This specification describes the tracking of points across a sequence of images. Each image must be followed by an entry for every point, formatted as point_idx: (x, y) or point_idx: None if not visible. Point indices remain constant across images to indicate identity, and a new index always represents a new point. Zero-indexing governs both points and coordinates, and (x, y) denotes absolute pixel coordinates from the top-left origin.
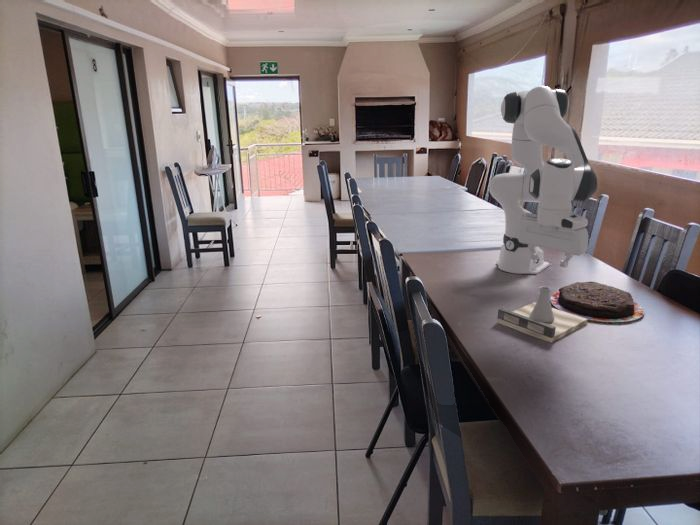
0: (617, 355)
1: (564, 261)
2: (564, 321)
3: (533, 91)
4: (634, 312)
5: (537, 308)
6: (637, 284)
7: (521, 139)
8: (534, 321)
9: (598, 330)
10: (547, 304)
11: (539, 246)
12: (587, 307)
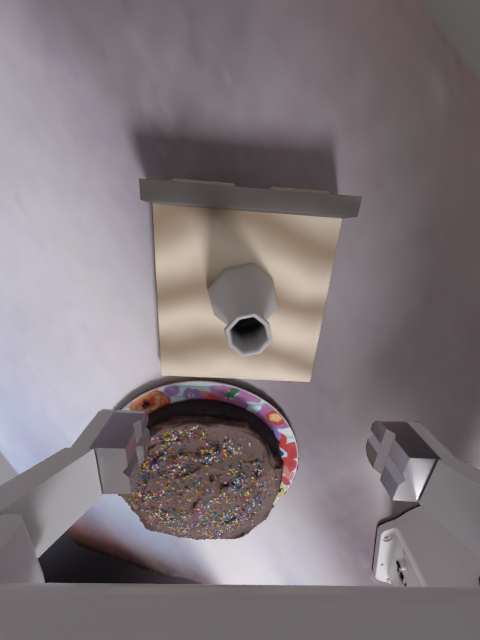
0: (13, 251)
1: (73, 450)
2: (191, 323)
3: None
4: None
5: (251, 282)
6: (201, 581)
7: None
8: (213, 188)
9: (127, 352)
10: (226, 304)
11: (465, 596)
12: (181, 417)
